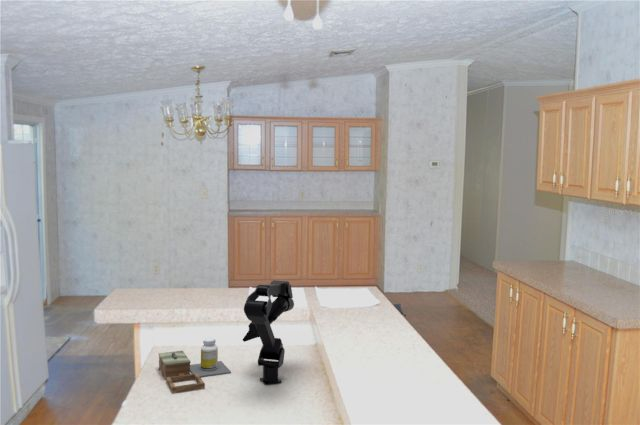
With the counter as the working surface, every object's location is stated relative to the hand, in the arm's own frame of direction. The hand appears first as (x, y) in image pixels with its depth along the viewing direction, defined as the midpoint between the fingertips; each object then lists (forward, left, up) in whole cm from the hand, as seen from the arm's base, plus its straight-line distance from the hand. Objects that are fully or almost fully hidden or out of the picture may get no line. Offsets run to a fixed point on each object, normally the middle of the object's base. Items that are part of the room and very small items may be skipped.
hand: (246, 337), depth 213 cm
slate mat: (+7, +13, -14) cm, 20 cm away
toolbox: (+2, +25, -14) cm, 29 cm away
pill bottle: (+7, +13, -13) cm, 20 cm away
